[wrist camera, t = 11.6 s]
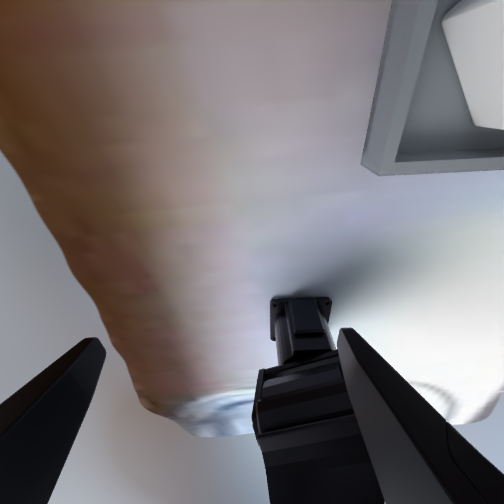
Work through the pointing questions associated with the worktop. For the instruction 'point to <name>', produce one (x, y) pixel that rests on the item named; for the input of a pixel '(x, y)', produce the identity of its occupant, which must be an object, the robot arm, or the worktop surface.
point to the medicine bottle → (479, 57)
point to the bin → (424, 102)
